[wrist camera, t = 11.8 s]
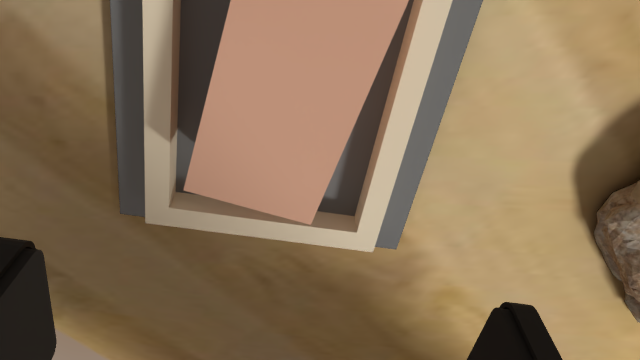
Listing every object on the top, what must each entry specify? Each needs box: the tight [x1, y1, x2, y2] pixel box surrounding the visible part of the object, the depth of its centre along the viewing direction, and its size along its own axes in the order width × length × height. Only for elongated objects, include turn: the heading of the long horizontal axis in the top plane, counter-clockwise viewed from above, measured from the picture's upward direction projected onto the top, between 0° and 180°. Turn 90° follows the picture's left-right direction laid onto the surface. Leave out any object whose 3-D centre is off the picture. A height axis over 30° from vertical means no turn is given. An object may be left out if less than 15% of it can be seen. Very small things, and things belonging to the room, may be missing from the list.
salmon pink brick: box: [184, 0, 409, 225], centre depth 21 cm, size 6×11×4 cm, turn 160°
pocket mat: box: [110, 0, 483, 252], centre depth 22 cm, size 20×16×2 cm
